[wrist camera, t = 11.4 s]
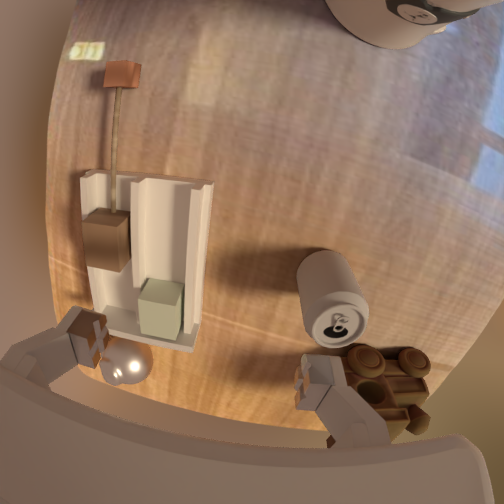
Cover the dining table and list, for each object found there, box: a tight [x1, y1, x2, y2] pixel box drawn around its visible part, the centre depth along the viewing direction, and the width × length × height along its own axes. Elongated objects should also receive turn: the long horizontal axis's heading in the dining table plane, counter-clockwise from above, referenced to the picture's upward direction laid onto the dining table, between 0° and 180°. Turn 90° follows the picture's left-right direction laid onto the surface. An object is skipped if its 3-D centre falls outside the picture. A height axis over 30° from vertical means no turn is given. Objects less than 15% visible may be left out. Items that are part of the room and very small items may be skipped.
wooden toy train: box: [326, 345, 431, 448], centre depth 42 cm, size 20×11×17 cm, turn 80°
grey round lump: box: [99, 336, 153, 386], centre depth 44 cm, size 9×10×10 cm
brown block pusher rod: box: [81, 60, 141, 273], centre depth 31 cm, size 24×5×7 cm, turn 171°
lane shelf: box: [80, 169, 214, 353], centre depth 37 cm, size 22×17×7 cm
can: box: [296, 250, 369, 348], centre depth 35 cm, size 8×8×12 cm
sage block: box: [138, 278, 184, 341], centre depth 39 cm, size 6×5×5 cm
